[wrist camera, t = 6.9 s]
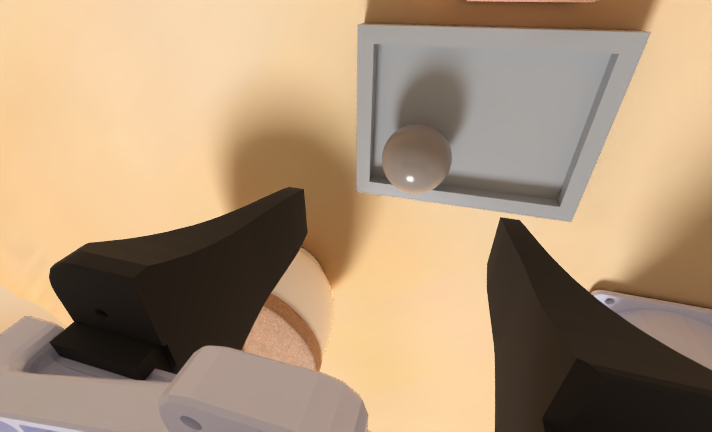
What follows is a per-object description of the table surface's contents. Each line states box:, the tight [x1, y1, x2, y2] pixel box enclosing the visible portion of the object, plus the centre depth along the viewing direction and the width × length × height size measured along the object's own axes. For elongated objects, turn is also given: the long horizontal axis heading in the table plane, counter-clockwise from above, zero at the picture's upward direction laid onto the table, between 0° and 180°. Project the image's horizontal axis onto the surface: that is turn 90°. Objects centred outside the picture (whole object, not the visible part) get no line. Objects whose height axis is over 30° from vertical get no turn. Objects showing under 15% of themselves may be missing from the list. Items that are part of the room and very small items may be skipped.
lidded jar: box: [241, 247, 334, 371], centre depth 24 cm, size 11×11×9 cm
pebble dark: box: [382, 123, 452, 194], centre depth 18 cm, size 4×4×4 cm
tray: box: [356, 23, 651, 222], centre depth 18 cm, size 12×9×1 cm
